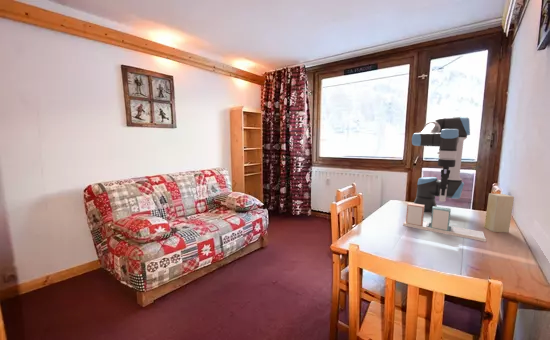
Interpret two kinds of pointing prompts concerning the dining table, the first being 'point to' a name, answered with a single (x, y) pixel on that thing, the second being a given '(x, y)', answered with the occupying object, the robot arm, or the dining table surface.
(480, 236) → the shelf
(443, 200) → the robot arm
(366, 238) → the dining table surface
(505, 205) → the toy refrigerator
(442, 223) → the teal carton
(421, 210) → the terracotta carton
